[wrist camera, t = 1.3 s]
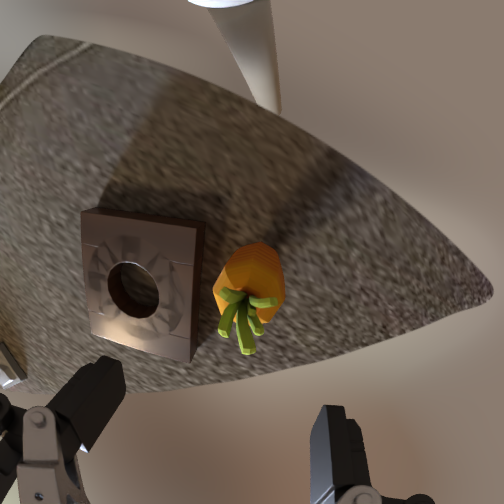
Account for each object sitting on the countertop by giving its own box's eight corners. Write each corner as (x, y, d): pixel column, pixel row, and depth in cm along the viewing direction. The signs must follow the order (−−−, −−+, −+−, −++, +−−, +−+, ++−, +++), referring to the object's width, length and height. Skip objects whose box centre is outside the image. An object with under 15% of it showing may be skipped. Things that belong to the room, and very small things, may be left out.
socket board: (95, 207, 29) (80, 211, 27) (205, 222, 28) (196, 228, 26) (103, 322, 34) (91, 333, 31) (197, 349, 33) (190, 363, 30)
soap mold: (27, 378, 44) (19, 386, 41) (9, 387, 49) (3, 393, 46) (2, 342, 42) (-7, 349, 39) (-11, 358, 47) (-18, 364, 44)
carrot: (239, 223, 28) (191, 282, 14) (289, 229, 28) (292, 298, 13) (234, 269, 30) (190, 359, 15) (282, 276, 29) (276, 374, 15)
